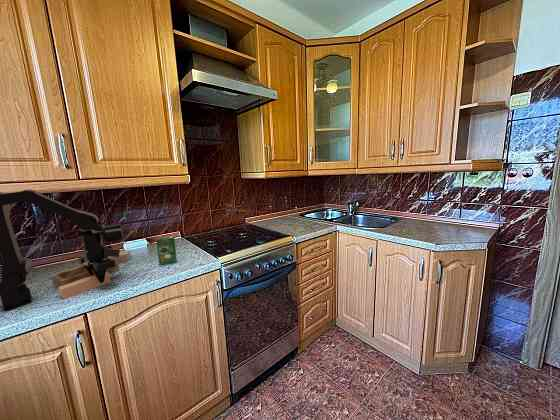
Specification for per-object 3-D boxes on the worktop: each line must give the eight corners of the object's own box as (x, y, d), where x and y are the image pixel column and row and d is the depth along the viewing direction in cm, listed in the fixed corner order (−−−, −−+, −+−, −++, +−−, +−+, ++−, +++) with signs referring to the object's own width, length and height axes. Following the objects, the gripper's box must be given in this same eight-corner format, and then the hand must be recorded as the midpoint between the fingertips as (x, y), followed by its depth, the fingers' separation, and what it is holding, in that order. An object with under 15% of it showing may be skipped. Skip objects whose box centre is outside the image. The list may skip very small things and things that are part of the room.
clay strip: (63, 299, 84) (61, 289, 83) (60, 297, 86) (58, 287, 85) (110, 281, 97) (109, 272, 96) (106, 280, 98) (105, 271, 98)
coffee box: (177, 260, 117) (174, 235, 115) (177, 262, 114) (173, 237, 112) (160, 263, 114) (156, 237, 112) (159, 265, 112) (155, 239, 110)
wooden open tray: (63, 290, 91) (61, 281, 90) (53, 284, 96) (50, 275, 96) (119, 270, 108) (118, 262, 107) (107, 266, 113) (106, 258, 113)
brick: (131, 256, 127) (129, 248, 126) (129, 261, 120) (128, 252, 119) (93, 263, 119) (91, 255, 118) (89, 269, 112) (87, 260, 111)
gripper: (126, 242, 94) (132, 277, 97) (105, 237, 104) (111, 269, 106) (94, 250, 85) (101, 290, 87) (73, 244, 94) (81, 280, 97)
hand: (99, 281), depth 95 cm, fingers closed on clay strip, 3 cm apart
